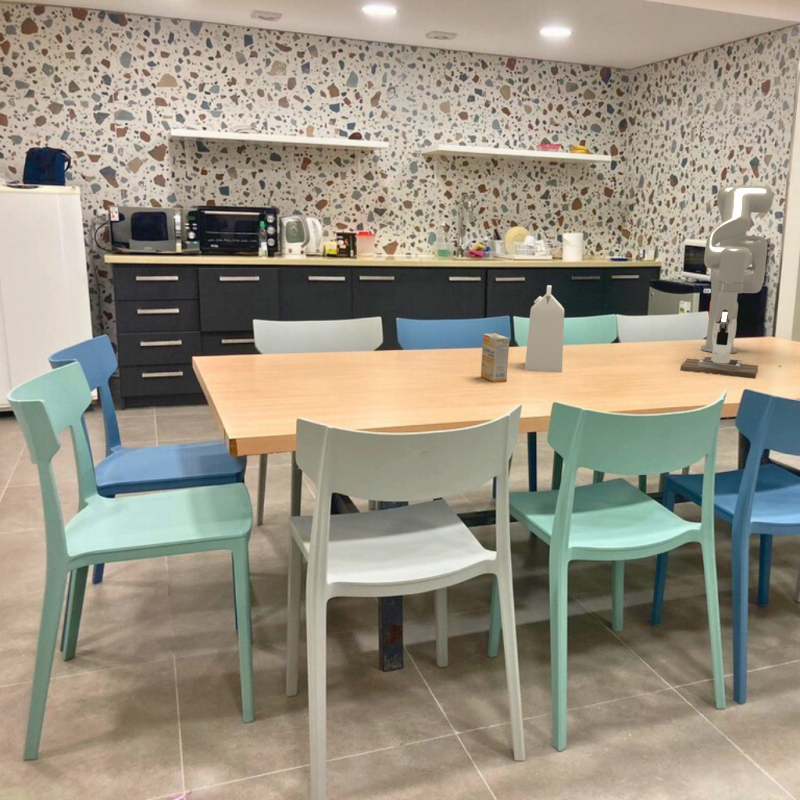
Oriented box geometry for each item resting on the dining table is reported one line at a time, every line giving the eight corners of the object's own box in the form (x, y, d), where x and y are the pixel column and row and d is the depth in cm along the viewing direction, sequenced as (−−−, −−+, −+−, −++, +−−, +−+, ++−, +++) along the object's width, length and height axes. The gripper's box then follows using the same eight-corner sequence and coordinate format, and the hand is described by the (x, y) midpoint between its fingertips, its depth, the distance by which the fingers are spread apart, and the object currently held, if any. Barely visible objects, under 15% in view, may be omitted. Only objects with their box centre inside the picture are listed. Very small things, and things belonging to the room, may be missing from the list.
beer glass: (733, 365, 243) (739, 319, 239) (710, 364, 244) (716, 318, 240) (729, 361, 249) (735, 316, 246) (706, 360, 251) (712, 315, 247)
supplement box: (479, 376, 227) (482, 333, 224) (494, 376, 228) (496, 332, 225) (492, 382, 219) (495, 337, 216) (507, 381, 221) (510, 337, 218)
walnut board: (686, 362, 259) (687, 354, 258) (757, 370, 249) (758, 361, 248) (680, 370, 245) (681, 361, 244) (754, 378, 235) (756, 368, 235)
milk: (561, 372, 237) (568, 288, 231) (524, 369, 239) (530, 286, 233) (561, 365, 249) (567, 285, 243) (526, 363, 251) (531, 283, 245)
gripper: (719, 284, 250) (712, 338, 254) (714, 288, 235) (707, 345, 239) (744, 286, 247) (737, 340, 251) (740, 290, 232) (732, 348, 236)
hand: (722, 342), depth 245 cm, fingers closed on beer glass, 6 cm apart
